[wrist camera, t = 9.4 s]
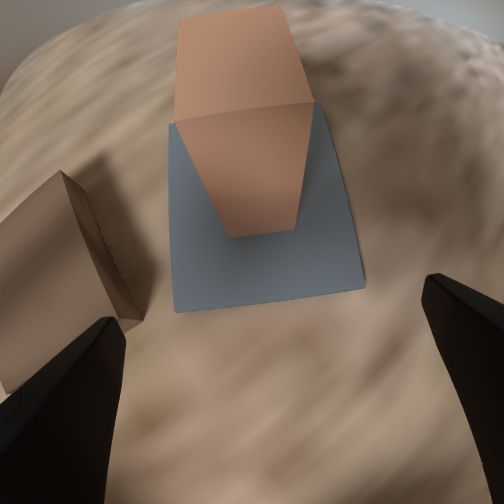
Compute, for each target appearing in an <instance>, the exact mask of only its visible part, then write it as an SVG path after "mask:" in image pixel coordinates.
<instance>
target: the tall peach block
mask: <svg viewBox="0 0 504 504" xmlns="http://www.w3.org/2000/svg"><path fill="white" fill-rule="evenodd" d="M314 103H315V102H314V99H313V96H312V92H311V89H310V86H309V83H308V80H307V77H306V74H305V71H304V68H303V66H302V63H301V60H300V57H299V54H298V52H297V49H296V46H295V43H294V41H293V38H292V35H291V33H290V30H289V28H288V25H287V22H286V20H285V17H284V15H283V12H282V10H281V8H280V6H271V7H259V8H249V9H240V10H232V11H225V12H219V13H212V14H207V15H201V16H196V17H191V18H186V19H182V20H179V31H178V44H177V60H176V78H175V104H174V122H175V125H176V127H177V129H178V131H179V133H180V135H181V138H182V140H183V142H184V144H185V146H186V148H187V151H188V153H189V155H190V157H191V159H192V161H193V164H194V166H195V168H196V170H197V172H198V174H199V176H200V179H201V181H202V183H203V185H204V187H205V189H206V191H207V193H208V196H209V198H210V200H211V202H212V204H213V206H214V208H215V210H216V213H217V215H218V217H219V219H220V221H221V223H222V225H223V227H224V229H225V232H226V234H227V236H228V238H236V237H244V236H251V235H259V234H266V233H274V232H282V231H289V230H295V224H296V219H297V213H298V207H299V201H300V195H301V189H302V183H303V177H304V170H305V164H306V158H307V151H308V145H309V138H310V131H311V124H312V117H313V110H314Z"/></svg>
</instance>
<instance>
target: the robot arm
mask: <svg viewBox="0 0 504 504" xmlns="http://www.w3.org/2000/svg"><path fill="white" fill-rule="evenodd" d="M421 303H422V307H423V309H424V312H425V315H426V317H427V320H428V323H429V326H430V328H431V331H432V334H433V337H434V340H435V343H436V345H437V348H438V350H439V352H440V355H441V357H442V359H443V361H444V364H445V366H446V368H447V370H448V373H449V375H450V377H451V380H452V382H453V384H454V387H455V389H456V392H457V394H458V397H459V399H460V402H461V404H462V407H463V409H464V412H465V415H466V417H467V420H468V423H469V426H470V428H471V431H472V434H473V437H474V440H475V443H476V446H477V449H478V452H479V455H480V458H481V462H482V463H483V464H482V466H483V469H484V472H485V476H486V479H487V483H488V487H489V490H490V494H491V498H492V503H493V504H504V304H502V303H500V302H498V301H496V300H494V299H492V298H490V297H488V296H486V295H484V294H482V293H480V292H478V291H476V290H474V289H472V288H470V287H468V286H466V285H463V284H461V283H459V282H457V281H455V280H453V279H451V278H449V277H447V276H445V275H442V274H440V273H435V274H430V275H428V276H427V277H426V278H425V283H424V288H423V292H422V297H421ZM125 350H126V339H125V336H124V334H123V332H122V330H121V328H120V325H119V323H118V321H117V320H116V318H115V317H113V316H108V317H101V318H100V319H98V320H97V321H96V322H95V323H94V324H92V325H91V326H90V327H89V328H88V329H86V330H85V331H84V332H83V333H82V334H80V335H79V336H78V337H77V338H76V339H74V340H73V341H72V342H71V343H70V344H69V345H67V346H66V347H65V348H64V349H63V350H61V351H60V352H59V353H58V354H57V355H56V356H54V357H53V358H52V359H51V360H50V361H49V362H48V363H46V364H45V365H44V366H43V367H42V368H41V369H39V370H38V371H37V372H36V373H35V374H34V375H33V376H32V377H30V378H29V379H28V380H27V381H26V382H25V383H24V384H23V386H20V387H19V388H18V389H17V390H16V391H15V392H14V393H12V394H11V395H10V396H9V397H8V398H7V399H6V400H4V401H3V402H2V403H1V404H0V504H104V500H105V490H106V481H107V473H108V465H109V458H110V451H111V445H112V438H113V432H114V426H115V420H116V415H117V409H118V404H119V399H120V393H121V388H122V379H123V368H124V359H125Z"/></svg>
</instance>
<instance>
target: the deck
mask: <svg viewBox="0 0 504 504" xmlns="http://www.w3.org/2000/svg"><path fill="white" fill-rule="evenodd" d="M108 316H113V317H115V318H116V320H117V321H118V323H119V325H120V328H121V330H122V332H123V334H124V333H126V332H127V331H129V330H130V329H132V328H133V327H135V326H136V325H138V324H140V323H141V322H143V320H142V318H141V316H140V314H139V313H138V311H137V309H136V307H135V305H134V303H133V301H132V299H131V297H130V295H129V293H128V291H127V289H126V287H125V285H124V283H123V281H122V279H121V277H120V274H119V272H118V270H117V268H116V266H115V264H114V262H113V259H112V257H111V255H110V253H109V250H108V248H107V246H106V244H105V241H104V239H103V237H102V234H101V232H100V230H99V227H98V225H97V222H96V220H95V218H94V215H93V213H92V210H91V207H90V205H89V202H88V200H87V197H86V194H85V192H84V189H82V188H81V187H80V186H79V185H78V184H76V183H75V182H74V181H73V180H72V179H70V178H69V177H68V176H67V175H66V174H65V173H63V172H62V171H61V170H59V171H58V172H57V173H56V174H54V175H53V176H52V177H51V178H50V179H48V180H47V181H46V182H45V183H44V184H42V185H41V186H40V187H39V188H38V189H37V190H36V191H34V192H33V193H32V194H31V195H30V196H29V197H28V198H27V199H25V200H24V201H23V202H22V203H21V204H20V205H19V206H18V207H17V208H16V209H15V210H14V211H13V212H12V213H11V214H10V215H9V216H7V217H6V218H5V219H4V220H3V221H2V222H1V223H0V380H1V383H2V385H3V388H4V390H5V393H6V394H12V393H14V392H15V391H16V390H17V389H18V388H19V387H20V386H23V384H24V383H25V382H26V381H27V380H28V379H29V378H30V377H32V376H33V375H34V374H35V373H36V372H37V371H38V370H39V369H41V368H42V367H43V366H44V365H45V364H46V363H48V362H49V361H50V360H51V359H52V358H53V357H54V356H56V355H57V354H58V353H59V352H60V351H61V350H63V349H64V348H65V347H66V346H67V345H69V344H70V343H71V342H72V341H73V340H74V339H76V338H77V337H78V336H79V335H80V334H82V333H83V332H84V331H85V330H86V329H88V328H89V327H90V326H91V325H92V324H94V323H95V322H96V321H97V320H98V319H100V318H101V317H108Z"/></svg>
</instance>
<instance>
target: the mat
mask: <svg viewBox="0 0 504 504" xmlns="http://www.w3.org/2000/svg"><path fill="white" fill-rule="evenodd" d="M168 184H169V229H170V252H171V270H172V286H173V299H174V311H175V312H176V313H180V312H190V311H200V310H210V309H219V308H228V307H236V306H245V305H253V304H261V303H269V302H276V301H284V300H291V299H298V298H305V297H312V296H319V295H325V294H332V293H338V292H344V291H351V290H357V289H363V288H365V281H364V276H363V270H362V265H361V259H360V254H359V249H358V244H357V240H356V235H355V230H354V226H353V221H352V217H351V212H350V208H349V204H348V199H347V195H346V191H345V187H344V183H343V179H342V176H341V172H340V168H339V164H338V161H337V157H336V153H335V150H334V146H333V143H332V139H331V136H330V133H329V129H328V126H327V123H326V119H325V116H324V113H323V110H322V107H321V104H314V110H313V117H312V124H311V131H310V138H309V145H308V151H307V158H306V164H305V170H304V177H303V183H302V189H301V195H300V201H299V207H298V213H297V219H296V224H295V230H289V231H282V232H274V233H266V234H259V235H251V236H244V237H236V238H228V236H227V234H226V232H225V229H224V227H223V225H222V223H221V221H220V219H219V217H218V215H217V213H216V210H215V208H214V206H213V204H212V202H211V200H210V198H209V196H208V193H207V191H206V189H205V187H204V185H203V183H202V181H201V179H200V176H199V174H198V172H197V170H196V168H195V166H194V164H193V161H192V159H191V157H190V155H189V153H188V151H187V148H186V146H185V144H184V142H183V140H182V138H181V135H180V133H179V131H178V129H177V127H176V125H175V123H173V124H169V154H168Z"/></svg>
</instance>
